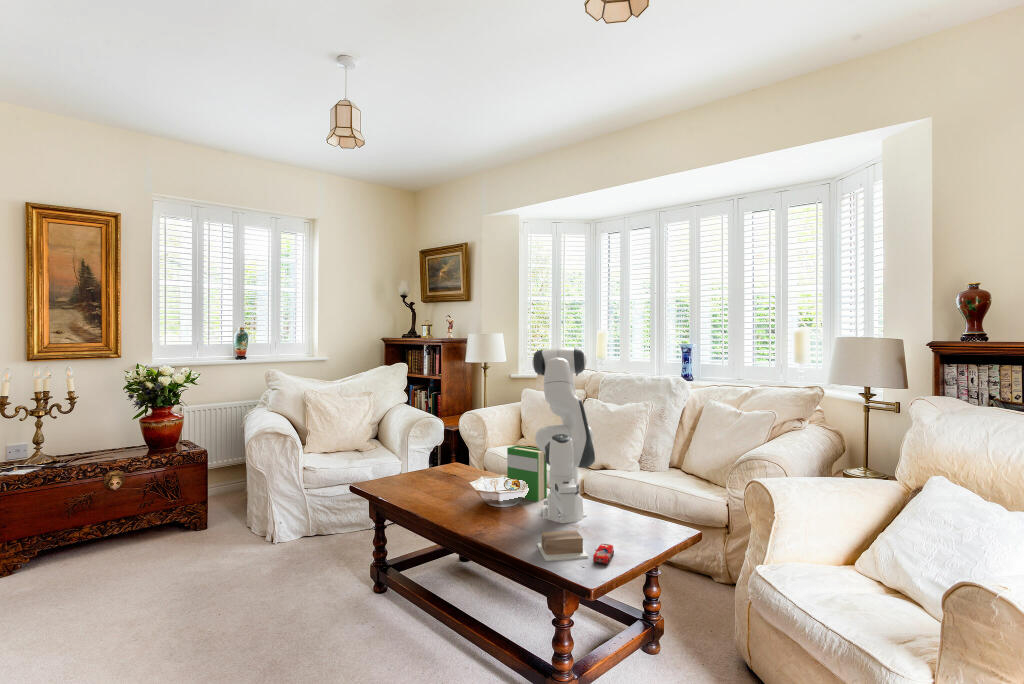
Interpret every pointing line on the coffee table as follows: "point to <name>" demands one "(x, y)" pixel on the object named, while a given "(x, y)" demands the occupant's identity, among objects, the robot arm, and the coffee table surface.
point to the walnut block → (561, 542)
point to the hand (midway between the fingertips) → (561, 520)
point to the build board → (562, 555)
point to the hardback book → (528, 470)
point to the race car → (603, 553)
